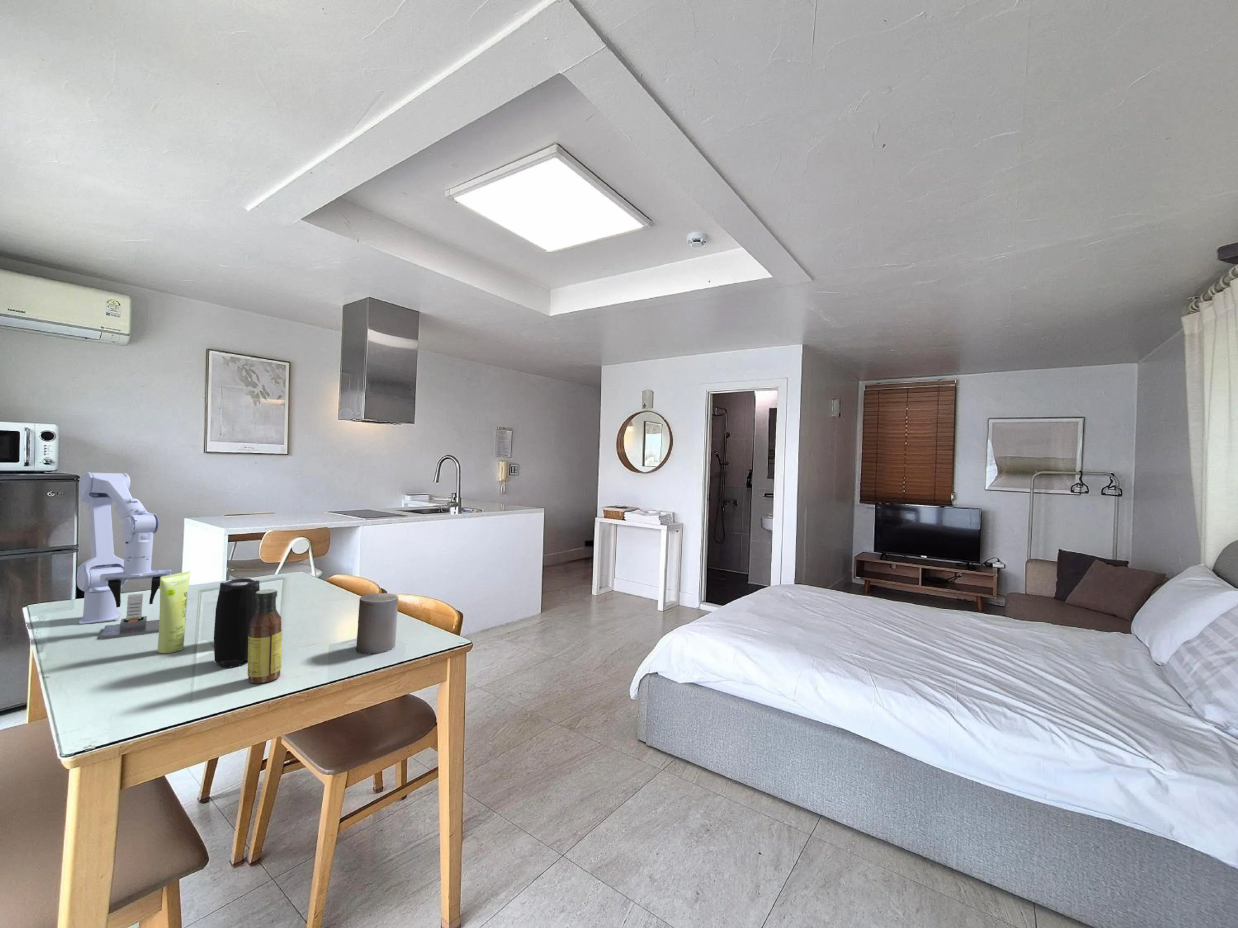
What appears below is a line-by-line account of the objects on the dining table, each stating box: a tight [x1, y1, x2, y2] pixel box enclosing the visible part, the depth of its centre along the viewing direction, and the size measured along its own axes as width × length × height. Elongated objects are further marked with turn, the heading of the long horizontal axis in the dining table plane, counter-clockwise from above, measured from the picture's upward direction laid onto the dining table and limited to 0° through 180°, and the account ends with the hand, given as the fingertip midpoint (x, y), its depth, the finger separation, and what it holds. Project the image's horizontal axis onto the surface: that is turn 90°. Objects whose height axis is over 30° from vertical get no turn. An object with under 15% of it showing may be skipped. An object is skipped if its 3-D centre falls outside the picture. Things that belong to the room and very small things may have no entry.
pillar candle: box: [355, 591, 399, 655], centre depth 136 cm, size 10×10×15 cm
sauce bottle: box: [247, 588, 283, 685], centre depth 113 cm, size 7×6×20 cm
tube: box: [157, 570, 191, 654], centre depth 128 cm, size 6×5×20 cm
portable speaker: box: [213, 577, 261, 668], centre depth 123 cm, size 9×9×20 cm
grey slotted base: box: [100, 615, 159, 640], centre depth 142 cm, size 12×12×4 cm
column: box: [125, 593, 144, 620], centre depth 142 cm, size 3×3×6 cm
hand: (134, 604), depth 143 cm, fingers open, 6 cm apart
